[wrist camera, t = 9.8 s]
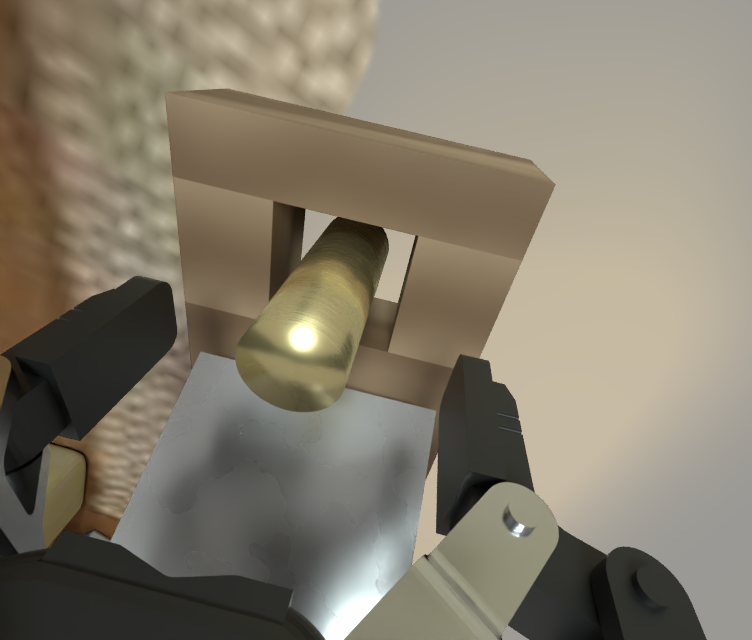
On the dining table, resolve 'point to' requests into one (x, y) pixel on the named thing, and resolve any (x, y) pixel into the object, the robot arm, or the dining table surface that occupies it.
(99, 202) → the dining table surface
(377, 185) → the walnut block
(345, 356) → the brass peg
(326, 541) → the steel flap
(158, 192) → the dining table surface
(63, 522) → the cheese
